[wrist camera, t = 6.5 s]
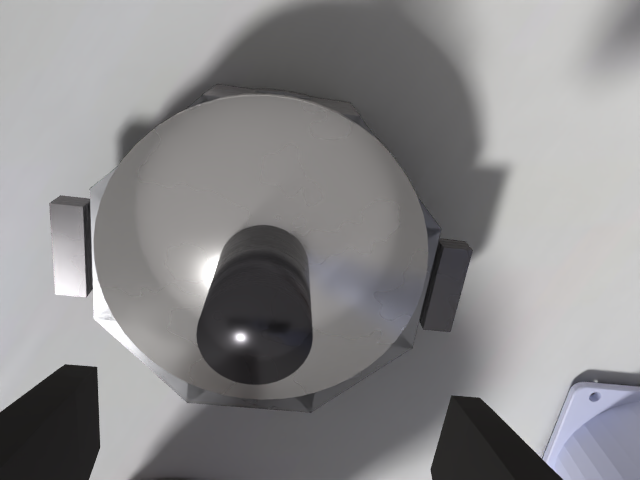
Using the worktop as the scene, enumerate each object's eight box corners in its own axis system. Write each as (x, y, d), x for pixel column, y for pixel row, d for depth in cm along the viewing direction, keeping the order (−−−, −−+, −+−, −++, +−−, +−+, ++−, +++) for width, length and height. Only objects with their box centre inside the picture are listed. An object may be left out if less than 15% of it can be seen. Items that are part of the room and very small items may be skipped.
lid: (455, 125, 16) (528, 168, 11) (378, 390, 20) (406, 512, 15) (116, 58, 15) (25, 73, 10) (103, 354, 19) (33, 473, 14)
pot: (475, 116, 18) (507, 132, 15) (410, 374, 22) (427, 423, 20) (79, 61, 17) (37, 68, 14) (90, 346, 21) (59, 395, 18)
